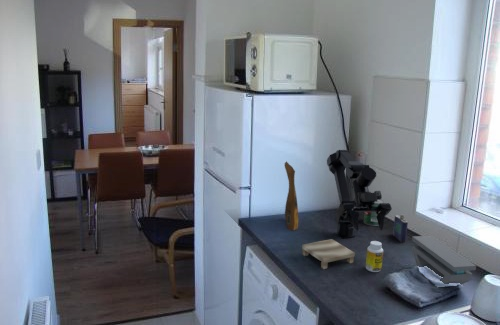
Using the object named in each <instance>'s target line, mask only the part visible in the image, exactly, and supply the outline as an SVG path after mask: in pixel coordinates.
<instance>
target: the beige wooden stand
mask: <svg viewBox="0 0 500 325" xmlns="http://www.w3.org/2000/svg"><path fill="white" fill-rule="evenodd" d="M301 246H302V247H301V248H302V255H303V256H304V257H308V256H309V254H310V255H311V256H312V257H314V258H315V259H317V260H319V262H320V261H321V262H320V268H321V269H323V270H327V269H328V265H329V264H328V263H331V262H335V261H341V260H347V263H348V264H354V260H355V258H354V257H355V256H356V253H355V251H352V250H351V249H349V248H347V247H346V246H344V245H343V244H341V243H339V242H337V241H336V240H334V239H332V238H331V239H326V240H325V239H324V240H319V241H314V242H310V243H309V242H308V243H304V244H302V245H301Z"/></svg>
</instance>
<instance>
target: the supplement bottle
mask: <svg viewBox="0 0 500 325" xmlns="http://www.w3.org/2000/svg"><path fill="white" fill-rule="evenodd" d="M382 247H383V246H382V242H380V241H377V240H372V241H370V243H369V246H368V247H367V248H366V249H367V250H366V257H365V258H366V260H365V269H366V270H367V271H369V272H372V273H378V272H379V273H380V272H381V271H382V266H383V256H384V249H383V248H382Z"/></svg>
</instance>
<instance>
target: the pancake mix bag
mask: <svg viewBox="0 0 500 325" xmlns="http://www.w3.org/2000/svg"><path fill="white" fill-rule="evenodd" d="M284 169H285V172H286V176H287V180H288V193H287V197H286V201H285V202H286V203H285V209H284V218H285V219H284V220H285V224H286V228H287V230H290V231H293V232H295V230H298V227H299V206H298V198H297V190H296V186H295V185H296V184H295V174H296V170H295V169H294V168H293V166H292V165H290V164H289V162H288V161H285V162H284Z"/></svg>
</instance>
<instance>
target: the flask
mask: <svg viewBox="0 0 500 325" xmlns="http://www.w3.org/2000/svg"><path fill="white" fill-rule="evenodd" d="M405 215H406V214H399V215H397V214H395V215H394V221H393V223H394V224H393V229H392V232H393V233H392V235H393V237H395V239H397V240H399V241H400V243H407V234H408V233H407V232H408V225H409V221H408V220H407V219H406V217H405Z"/></svg>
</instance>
